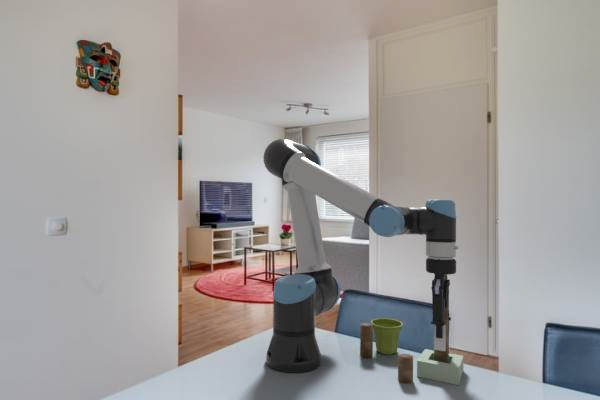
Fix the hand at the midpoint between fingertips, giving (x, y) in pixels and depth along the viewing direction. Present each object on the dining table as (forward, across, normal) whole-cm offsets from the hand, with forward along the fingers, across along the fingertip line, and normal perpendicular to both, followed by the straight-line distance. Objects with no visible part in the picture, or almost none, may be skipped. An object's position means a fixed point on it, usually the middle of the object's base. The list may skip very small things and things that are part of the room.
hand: (441, 347), depth 101 cm
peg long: (+4, 0, 0) cm, 4 cm away
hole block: (+7, 0, 0) cm, 7 cm away
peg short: (+7, -9, +7) cm, 13 cm away
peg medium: (+7, +2, +21) cm, 22 cm away
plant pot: (+7, +9, +17) cm, 21 cm away
